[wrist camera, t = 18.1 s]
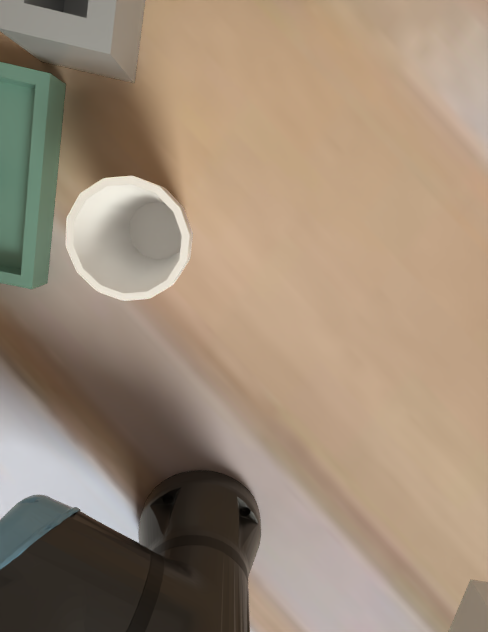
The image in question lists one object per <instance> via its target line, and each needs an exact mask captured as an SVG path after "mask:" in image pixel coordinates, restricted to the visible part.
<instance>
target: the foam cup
mask: <svg viewBox="0 0 488 632" xmlns="http://www.w3.org/2000/svg"><path fill="white" fill-rule="evenodd" d="M192 237H193V232H192V229H191V226H190V223H189V220H188V218H187V215H186V212H185V209H184V207H183V206H182V205H181V204H180V203H179V202H178V201H177V200H176V199H175V198H174V197H173V196H172V194H171V193H170V192H169V191H168V190H167V189H166V188H165V187H162V186H159V185H157V184H154V183H152V182H149V181H147V180H144V179H142V178H139V177H135V176H121V177H110V178H103V179H101V180H100V181H98V182H97V183H95V184H94V185H92V186H90V187H89V188H87V189H86V190H84V191H83V192H81V193H80V194H79V196H78V198H77V200H76V201H75V203H74V205H73V207H72V209H71V211H70V212H69V214H68V216H67V219H66V248H67V250H68V253H69V255H70V258H71V260H72V262H73V265H74V267H75V269H76V272H77V273H78V274H79V275H80V276H81V277H82V278H83V279H84V280H85V281H87V282H88V283H89V284H90V285H91V286H92V287H93V288H94V289H95V290H96V291H97V292H100V293H102V294H105V295H108V296H111V297H114V298H116V299H119V300H122V301H129V300H141V299H150V298H152V297H154V296H155V295H157V294H159V293H160V292H162V291H164V290H165V289H167V288H169V287H170V286H172V285H173V284H174V283H175V282H176V280H177V279H178V277H179V276H180V274H181V273H182V271H183V269H184V268H185V266H186V265H187V263H188V262H189V260H190V255H191V246H192Z"/></svg>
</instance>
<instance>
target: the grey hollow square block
mask: <svg viewBox="0 0 488 632" xmlns="http://www.w3.org/2000/svg"><path fill="white" fill-rule="evenodd" d="M144 7H145V0H0V31H1V32H2V33H3V34H5V35H6V36H7V37H9V38H10V39H11V40H13V41H14V42H15V43H17V44H18V45H20V46H21V47H22V48H24V49H25V50H26V51H28V52H29V53H30V54H32V55H33V56H34V57H36V58H37V59H39V60H40V61H41V62H45V63H50V64H54V65H58V66H63V67H67V68H71V69H76V70H80V71H84V72H88V73H93V74H97V75H101V76H106V77H110V78H114V79H119V80H123V81H127V82H131V83H135V76H136V68H137V61H138V53H139V45H140V38H141V30H142V22H143V15H144Z"/></svg>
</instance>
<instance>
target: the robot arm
mask: <svg viewBox="0 0 488 632" xmlns="http://www.w3.org/2000/svg"><path fill="white" fill-rule="evenodd" d="M138 535H139V543H138V542H136V541H134V540H132V539H130V538H128V537H126V536H124V535H122V534H121V533H119V532H117V531H115V530H113V529H111V528H109V527H107V526H105V525H104V524H102V523H100V522H98V521H96V520H95V519H93V518H91V517H89V516H87V515H86V514H84V513H82V512H80V509H79V508H77V507H74V508H72V507H70V506H68V505H65V504H63V503H61V502H59V501H56V500H54V499H52V498H50V497H48V496H45V495H33V496H29V497H27V498H25V499H23V500H22V501H20V502H19V503H17V504H16V505H15V506H14V507H13V508H12V509H11V510H10V511H9V512H8V513H7V514H6V515H5V516H4V517H3V518H2V519H1V520H0V632H250V622H249V590H248V576H249V573H250V570H251V568H252V565H253V562H254V559H255V556H256V553H257V551H258V548H259V544H260V538H261V522H260V513H259V509H258V506H257V504H256V502H255V500H254V498H253V496H252V495H251V494H250V492H249V491H248V490H247V489H246V488H245V487H244V486H243V485H241V484H240V483H239V482H237V481H236V480H234V479H232V478H230V477H228V476H226V475H223V474H220V473H216V472H211V471H189V472H184V473H181V474H178V475H175V476H173V477H170V478H168V479H167V480H165V481H164V482H162V483H161V484H160V485H158V486H157V487H156V488H155V489H154V490H153V491H152V493H151V494H150V495H149V497H148V499H147V501H146V503H145V505H144V508H143V512H142V515H141V518H140V522H139V531H138ZM448 632H488V582H483V581H477V580H470V582H469V584H468V587H467V589H466V591H465V594H464V596H463V598H462V601H461V603H460V605H459V608H458V610H457V613H456V615H455V617H454V620H453V622H452V624H451V627H450V629H449V631H448Z"/></svg>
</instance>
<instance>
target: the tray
mask: <svg viewBox="0 0 488 632" xmlns="http://www.w3.org/2000/svg"><path fill="white" fill-rule="evenodd" d="M65 89H66V84H65V83H63V82H62V81H60V80H59V79H57V78H56V77H55V76H53V75H52V74H50V73H46V72H42V71H38V70H33V69H29V68H25V67H20V66H16V65H12V64H7V63H3V62H0V283H3V284H8V285H13V286H18V287H23V288H28V289H34V288H36V287H39V286H41V285H44V284H46V283H47V281H48V270H49V260H50V249H51V238H52V228H53V217H54V206H55V196H56V185H57V174H58V163H59V153H60V142H61V131H62V121H63V110H64V99H65Z"/></svg>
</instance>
